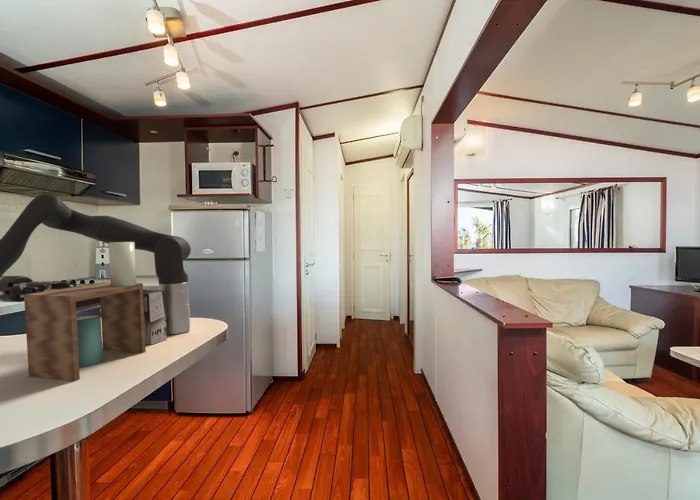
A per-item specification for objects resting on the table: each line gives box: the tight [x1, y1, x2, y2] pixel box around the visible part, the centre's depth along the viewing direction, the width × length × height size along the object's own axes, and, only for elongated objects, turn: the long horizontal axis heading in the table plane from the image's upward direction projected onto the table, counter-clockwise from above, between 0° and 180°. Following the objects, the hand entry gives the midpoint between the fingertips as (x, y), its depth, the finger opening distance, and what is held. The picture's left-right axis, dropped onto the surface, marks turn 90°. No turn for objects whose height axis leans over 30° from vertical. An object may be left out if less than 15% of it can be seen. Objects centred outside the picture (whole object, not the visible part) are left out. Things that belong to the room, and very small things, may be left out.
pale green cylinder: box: [108, 242, 137, 287], centre depth 99 cm, size 6×6×12 cm
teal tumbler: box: [77, 315, 104, 368], centre depth 95 cm, size 6×6×12 cm
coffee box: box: [143, 289, 168, 345], centre depth 113 cm, size 9×6×16 cm
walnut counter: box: [24, 281, 147, 382], centre depth 94 cm, size 14×21×20 cm, turn 167°
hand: (53, 288), depth 99 cm, fingers open, 8 cm apart
